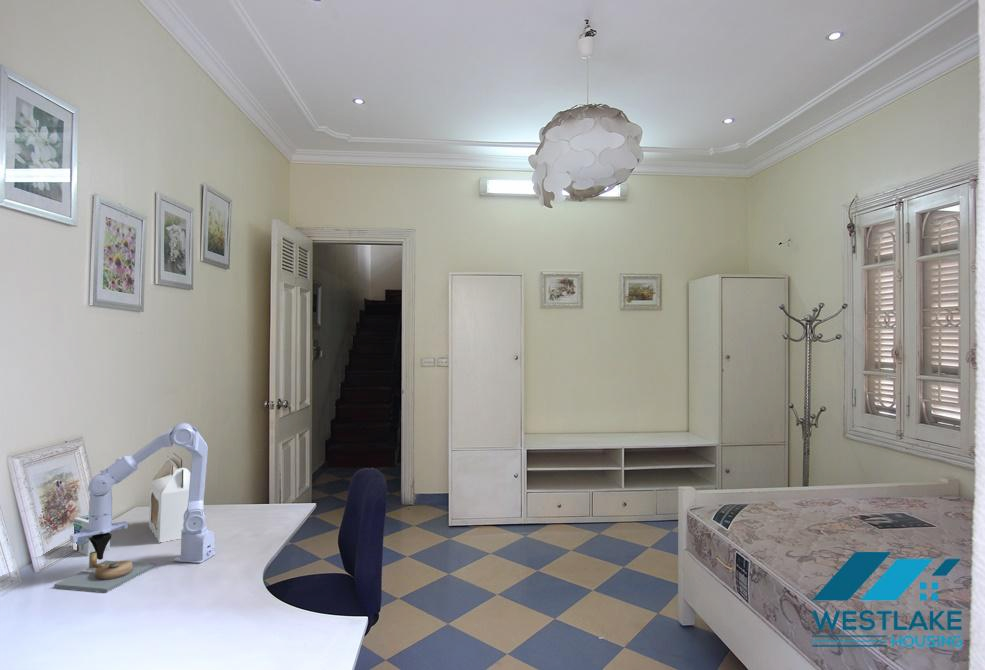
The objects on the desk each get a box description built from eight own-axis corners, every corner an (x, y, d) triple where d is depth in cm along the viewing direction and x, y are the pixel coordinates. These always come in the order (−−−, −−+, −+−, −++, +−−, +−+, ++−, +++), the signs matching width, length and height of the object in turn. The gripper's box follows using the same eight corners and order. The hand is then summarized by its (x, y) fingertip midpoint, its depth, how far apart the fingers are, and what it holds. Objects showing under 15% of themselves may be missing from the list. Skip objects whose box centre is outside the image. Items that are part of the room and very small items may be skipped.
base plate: (154, 567, 163) (154, 563, 164) (106, 592, 147) (107, 588, 147) (106, 563, 166) (106, 559, 166) (54, 587, 149) (54, 583, 149)
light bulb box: (71, 550, 176) (72, 517, 177) (94, 543, 182) (95, 512, 183) (88, 556, 171) (89, 523, 172) (110, 549, 177) (111, 517, 178)
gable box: (148, 527, 200) (151, 453, 200) (188, 519, 208) (190, 449, 209) (159, 544, 183) (161, 463, 184) (201, 535, 192) (203, 458, 192)
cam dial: (139, 567, 160) (140, 549, 161) (115, 580, 152) (115, 561, 152) (102, 565, 162) (103, 546, 162) (76, 577, 153) (77, 558, 153)
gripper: (78, 523, 151) (77, 570, 151) (133, 509, 164) (132, 553, 163) (67, 518, 155) (66, 565, 154) (121, 506, 167) (120, 548, 167)
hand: (99, 558), depth 159 cm, fingers closed
